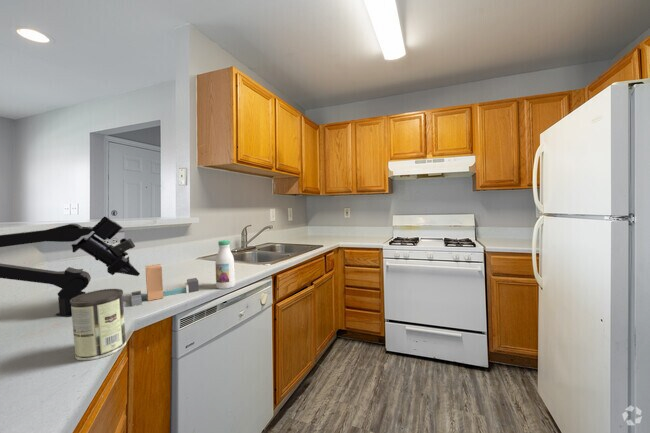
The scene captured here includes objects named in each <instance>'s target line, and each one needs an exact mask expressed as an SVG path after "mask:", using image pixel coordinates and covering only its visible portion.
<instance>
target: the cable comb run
mask: <svg viewBox="0 0 650 433" xmlns="http://www.w3.org/2000/svg"><path fill="white" fill-rule="evenodd" d="M199 287H200V286H199V280H198V278H197V277H194V278H188V279H186V282H185V283H184V286H183V287H179V288H173V289H168V290H163V297H167V296H172V295H178V294H183V293H184V294H185V293H186V294H190V293H194V292H199V289H200V288H199ZM145 299H146V300H148V295H147V293H145V294H142V290H137V291H132V292H131V307H135V305H136V306H140V304H141V305H143V304H142V303H143V301H146V300H145Z"/></svg>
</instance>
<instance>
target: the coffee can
mask: <svg viewBox="0 0 650 433" xmlns="http://www.w3.org/2000/svg"><path fill="white" fill-rule="evenodd" d="M123 295H124V290H123V289H121V288H106V289H105V288H103V289H100V290H99V289H97V290H93V291H89V292H85V293H84V294H81V295H78V296H76V297H74V298H72V299H71V300H70V304H71V310H72V316H71V318H72V332H73V342H74V344H73V345H74V358H75V359H76V360H77V361H92V360H98V359H102V358H105V357H107V356H110V355H113V354H115V353H117V352H119V351H120V350H122V349H123V348H124V347H126V345H127V340H126V323H125V311H124V296H123Z"/></svg>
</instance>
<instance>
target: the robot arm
mask: <svg viewBox="0 0 650 433" xmlns="http://www.w3.org/2000/svg"><path fill="white" fill-rule="evenodd" d="M122 229H123V227H122V226H121V225H120V224H119V223H118V222H116V221H113V220H112V219H110V218H109V217H107V216H106V215H105V216H103V217H102V218H101V219H100V221H98V222H97V224H95V225H94V226H93V227H91V226H82V225H80V224H78V223H67V224H64V225H60V226H56V227H53V228H49V229H41V230H33V231H32V230H31V231H23V232H16V233H14V232H13V233H5V234H0V248H4V247H12V246H19V245H26V244H36V243H44V242H54V243H55V242H56V243H57V242H58V243H59V242H60V243H64V242H65V243H66V242H67V243H68V242H69V243H71V242H76V241H77V240H79V239H80V240H79V241H78V242H77V243H73V244H71V245H70V246H71V247H72V249H71V250H72V253H76V252H77V251H78V250H81V251H83V252H85V253H86V254H87V255H90V256H91V257H93V258H94V260H96V261H99V262H101V263H102V264H104V265H105V267H107V270H106V271H107V273H108V274H110V275H112V276H114V275H115V274H121V275H122V274H123V275H130V276H135V277H138V276H140V274H141V273H140V272H139V271H138V270H137V269H136V268H135V267H134V265H133V264H132V263H131V262H130V256H128V255H129V253H128V252H127V251H128V250H132V249H134V248H135V247H136V245H135V242H133V240H132V239H131V238H128V239H127V238H125V237H123V238H121V239H120V240H119V243H117V244H116V245H113V244H108V243H106V242H105V241H106V240H112V238H114V237H115V236H116V235H117V234H118V233H119V232H120V231H121V230H122ZM91 233H92V234H91ZM89 234H91V235H90V236H89ZM95 235H96V236H95ZM85 236H89V237H88V238H87V237H85ZM126 256H127V257H126ZM0 279H5V280H14V281H23V282H29V283H30V282H31V283H38V284H39V283H40V284H46V285H47V284H48V285H53V286H55V287H58V288H60V290H58V292H57V296H58V297H57V298H58V300H57V302H58V312H56V313H55V315H56V316H62V317H63V316H64V317H72V310H71V304H70V300H71V299H72V298H74V297H76V296H78V295H81V294H84V293H86V291H83V290H85V289H86V288H87V287H88V285H89V284H90V281H91V279H92V278H91V274H90V273H89V272H88V271H85V270H84V268H74V267H70V266H69V267H67V268H66V269H65V270H63V271H61V270H60V271H56V270H48V269H42V268H35V267H34V268H33V267H27V266H23V265H14V264H6V263H1V262H0Z"/></svg>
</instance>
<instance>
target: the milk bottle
mask: <svg viewBox="0 0 650 433" xmlns="http://www.w3.org/2000/svg"><path fill="white" fill-rule="evenodd" d="M230 242H231V241H230V240H229V239H228V240H226V239H224V240H219V241H218V242H217V244H218V251H217V252H218V253H217V254H216V257H215V282H216V283H215V284H216V288H217V289H220V290H227V289H232V288H233V287H235V286H236V272H235V271H236V270H235V257H234V255H233V253H232V252H231V249H230V246H231V245H230V244H231V243H230Z"/></svg>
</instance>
